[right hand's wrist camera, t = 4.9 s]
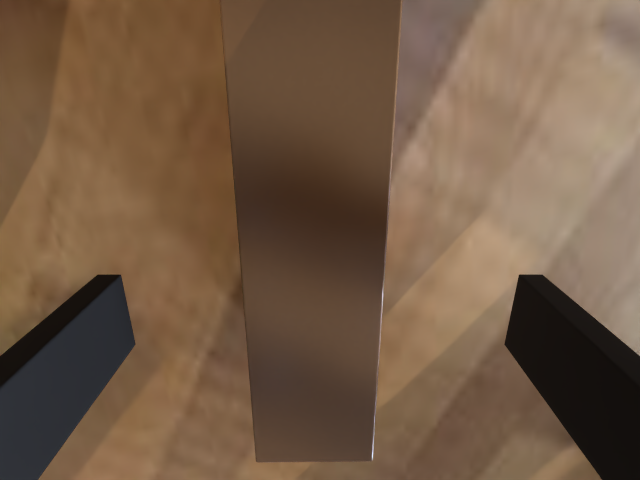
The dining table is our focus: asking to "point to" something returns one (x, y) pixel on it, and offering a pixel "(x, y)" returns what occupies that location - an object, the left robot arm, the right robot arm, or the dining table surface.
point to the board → (312, 213)
